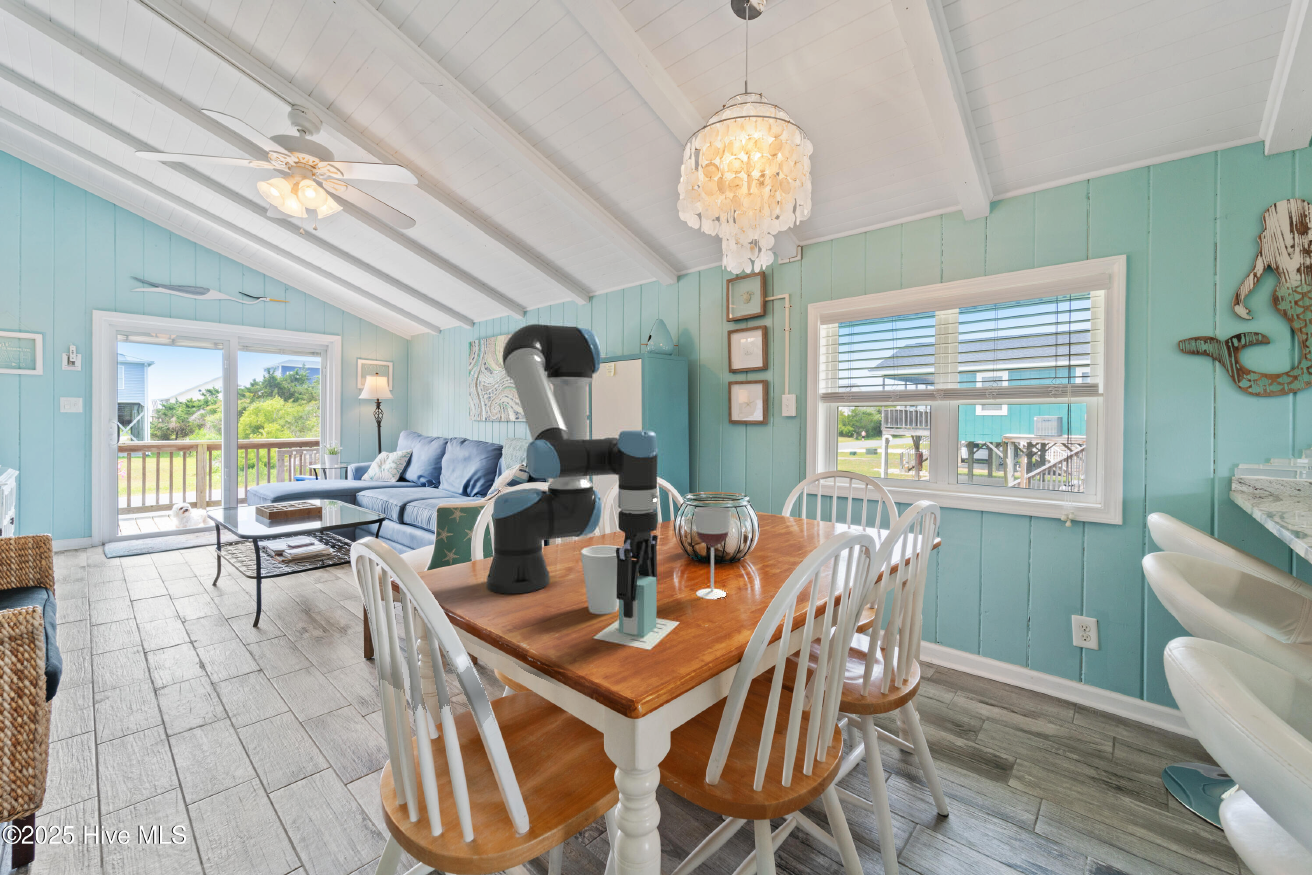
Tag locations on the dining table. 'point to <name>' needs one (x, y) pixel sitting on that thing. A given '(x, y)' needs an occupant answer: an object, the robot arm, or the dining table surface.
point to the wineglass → (712, 538)
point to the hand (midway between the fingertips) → (637, 626)
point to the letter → (642, 642)
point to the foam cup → (600, 578)
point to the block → (643, 606)
